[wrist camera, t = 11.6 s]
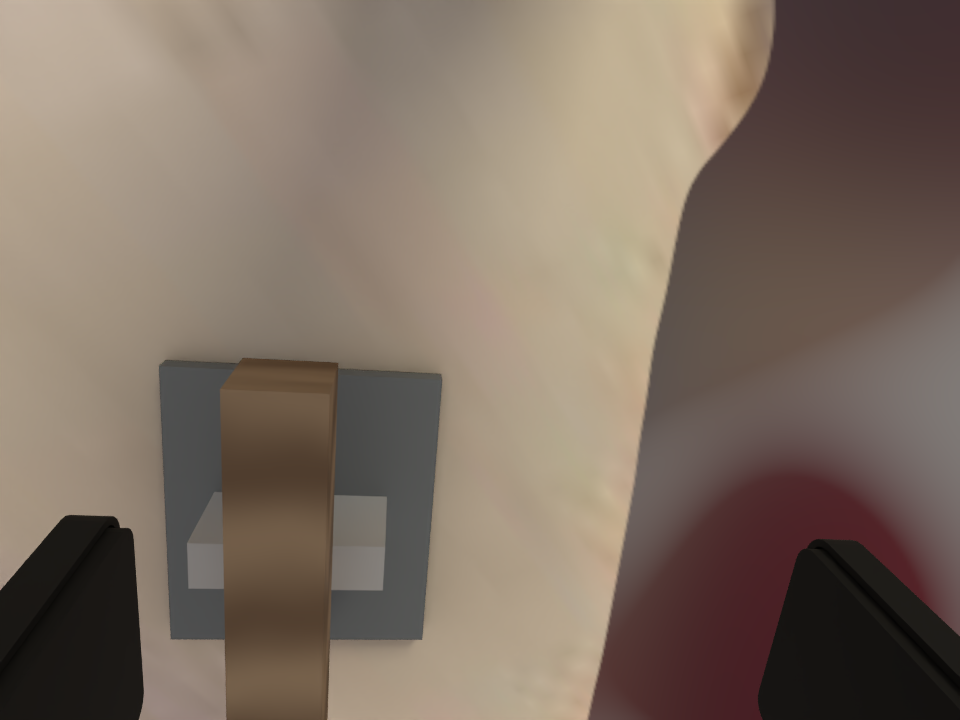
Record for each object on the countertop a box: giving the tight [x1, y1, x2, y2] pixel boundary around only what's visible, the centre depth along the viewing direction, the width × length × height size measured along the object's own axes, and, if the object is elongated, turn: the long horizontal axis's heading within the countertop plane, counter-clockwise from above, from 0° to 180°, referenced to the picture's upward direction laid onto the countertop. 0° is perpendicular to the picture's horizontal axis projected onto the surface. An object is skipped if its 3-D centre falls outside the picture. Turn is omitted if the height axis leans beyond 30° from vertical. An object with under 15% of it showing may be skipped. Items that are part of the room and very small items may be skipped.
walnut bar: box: [220, 358, 338, 720], centre depth 31 cm, size 20×4×4 cm, turn 175°
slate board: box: [159, 360, 442, 640], centre depth 36 cm, size 16×14×6 cm
